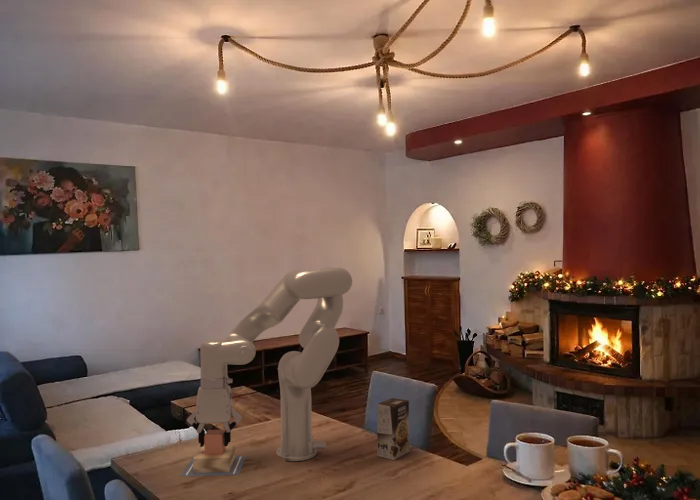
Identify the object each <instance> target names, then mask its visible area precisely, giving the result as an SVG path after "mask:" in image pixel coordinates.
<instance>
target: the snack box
mask: <svg viewBox="0 0 700 500" xmlns="http://www.w3.org/2000/svg"><path fill="white" fill-rule="evenodd" d="M409 404H410V401H409V400H407V399H402V398H393V397H391V398H389V399H386V400H384V401H381V402H378V403H377V404H376V407H377V408H376V411H377V412H376V419H377V423H376V426H377V429H376V430H377V432H376V435H377V437H376V438H377V441H376V444H377V445H376V446H377V447H376V448H377V450H376V451H377V453H376V454H377V457H381V458H383V459H388V460H390V461H395V460H397V459H399V458H401V457H402V456H404V455H406V454H408V453H409V452H410V405H409Z"/></svg>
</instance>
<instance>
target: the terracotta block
mask: <svg viewBox="0 0 700 500" xmlns="http://www.w3.org/2000/svg"><path fill="white" fill-rule="evenodd" d="M225 430H226V429H208V430H207V431H206V432H205V436H204V454H205V455H222V454H223V452H224V450H225V446H224V433H225Z"/></svg>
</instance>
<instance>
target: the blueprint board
mask: <svg viewBox="0 0 700 500" xmlns="http://www.w3.org/2000/svg"><path fill="white" fill-rule="evenodd" d="M193 458H194V457H192V458H191V460H190V461H189V462H188V464H187V465H186V467H185V469H184V470H183V472H182V473H181V475H180V477H206V476H207V477H209V476H237V475H238V476H239V475H240V473H241V470H242V468H243V465H244V463H245V460H246V458H247V455H238V456H237V455H235V460H234V462H233V465H232V467H231V469H230V471H229V472H212V473H193Z"/></svg>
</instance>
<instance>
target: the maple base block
mask: <svg viewBox="0 0 700 500" xmlns="http://www.w3.org/2000/svg"><path fill="white" fill-rule="evenodd" d="M235 456H236V445H235V444H233V445H231V444H230V445H229V444H228V445H227V446H225V450H224V452H223V454H222V455H205V454H204V446H203V447H200V448H199V449H198V450H197V452H196V454H195V455H194V458H193V457H192V458H193V473H212V472H229V471H230V469H231V467H232V465H233V462H234V460H235Z"/></svg>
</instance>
